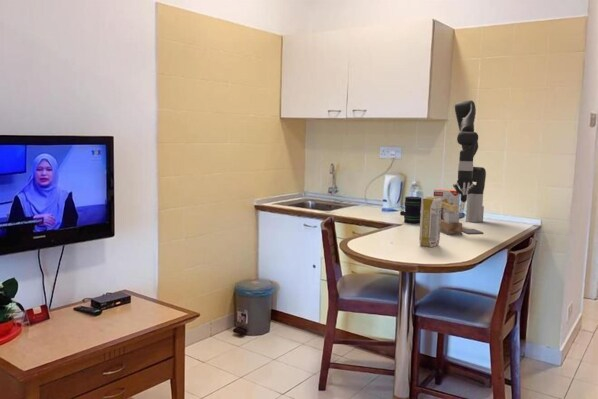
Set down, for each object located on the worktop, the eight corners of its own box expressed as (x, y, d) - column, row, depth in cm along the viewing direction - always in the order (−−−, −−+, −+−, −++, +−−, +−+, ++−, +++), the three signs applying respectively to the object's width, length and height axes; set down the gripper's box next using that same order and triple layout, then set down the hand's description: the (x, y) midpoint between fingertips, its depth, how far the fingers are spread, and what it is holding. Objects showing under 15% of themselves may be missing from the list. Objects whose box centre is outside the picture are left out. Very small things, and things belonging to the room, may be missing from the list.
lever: (436, 217, 295) (437, 201, 293) (442, 216, 295) (443, 201, 294) (451, 222, 277) (452, 206, 276) (457, 222, 278) (458, 206, 277)
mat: (473, 230, 291) (473, 228, 291) (483, 233, 281) (483, 232, 281) (458, 230, 289) (459, 229, 289) (468, 234, 280) (468, 232, 279)
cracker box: (431, 224, 306) (433, 189, 303) (433, 222, 312) (435, 188, 309) (455, 227, 300) (458, 190, 297) (458, 225, 305) (460, 189, 302)
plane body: (444, 227, 298) (445, 216, 297) (462, 234, 278) (463, 223, 277) (430, 227, 296) (431, 217, 296) (447, 235, 276) (448, 223, 276)
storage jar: (419, 221, 317) (420, 196, 315) (421, 224, 307) (423, 198, 305) (402, 220, 318) (404, 196, 316) (404, 223, 308) (405, 198, 306)
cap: (454, 221, 284) (454, 212, 283) (458, 222, 279) (459, 213, 279) (444, 221, 283) (444, 212, 282) (448, 223, 278) (448, 213, 277)
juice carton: (425, 242, 257) (428, 194, 254) (441, 245, 252) (443, 195, 249) (417, 245, 250) (419, 195, 246) (432, 248, 245) (435, 197, 242)
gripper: (473, 169, 282) (471, 200, 285) (450, 168, 280) (448, 201, 282) (480, 170, 275) (478, 202, 277) (457, 170, 273) (455, 202, 275)
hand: (463, 201), depth 280 cm, fingers closed
